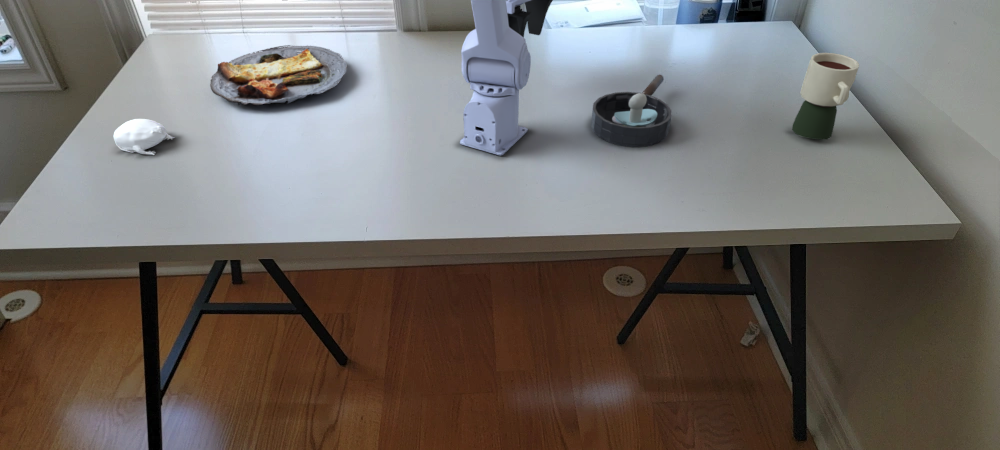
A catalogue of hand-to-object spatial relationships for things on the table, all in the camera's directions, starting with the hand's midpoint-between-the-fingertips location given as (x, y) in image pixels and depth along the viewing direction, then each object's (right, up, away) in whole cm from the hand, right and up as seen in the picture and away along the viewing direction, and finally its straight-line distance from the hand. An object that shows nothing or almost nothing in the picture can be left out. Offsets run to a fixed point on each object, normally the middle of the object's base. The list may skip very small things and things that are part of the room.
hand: (525, 41), depth 117 cm
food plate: (-46, -6, +8) cm, 47 cm away
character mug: (+48, -18, -8) cm, 52 cm away
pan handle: (+23, -9, 0) cm, 25 cm away
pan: (+18, -16, -6) cm, 25 cm away
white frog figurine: (-62, -20, -10) cm, 66 cm away
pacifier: (+18, -16, -6) cm, 25 cm away
